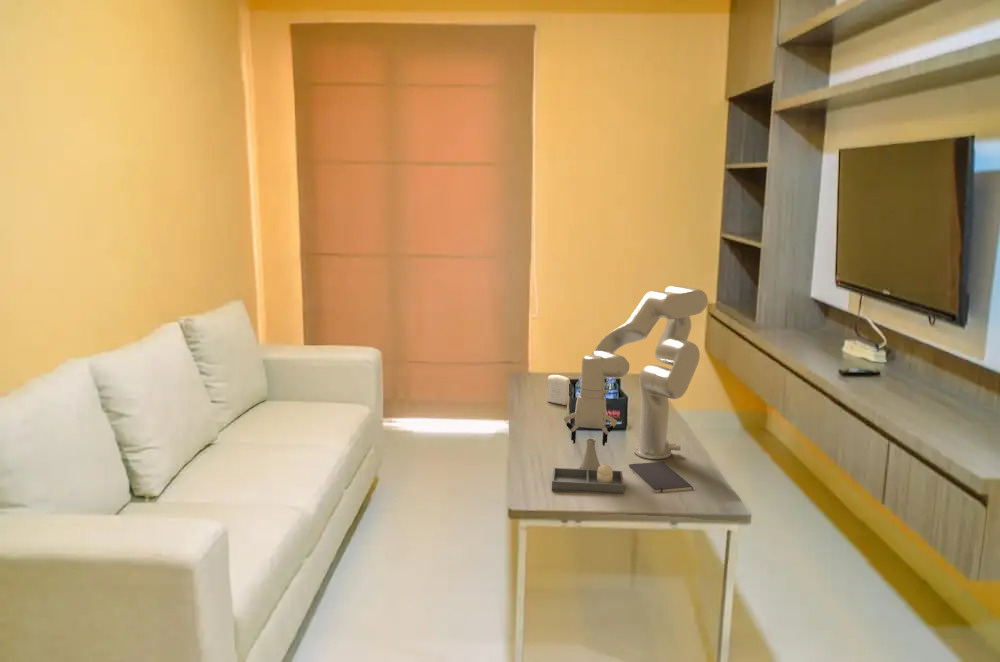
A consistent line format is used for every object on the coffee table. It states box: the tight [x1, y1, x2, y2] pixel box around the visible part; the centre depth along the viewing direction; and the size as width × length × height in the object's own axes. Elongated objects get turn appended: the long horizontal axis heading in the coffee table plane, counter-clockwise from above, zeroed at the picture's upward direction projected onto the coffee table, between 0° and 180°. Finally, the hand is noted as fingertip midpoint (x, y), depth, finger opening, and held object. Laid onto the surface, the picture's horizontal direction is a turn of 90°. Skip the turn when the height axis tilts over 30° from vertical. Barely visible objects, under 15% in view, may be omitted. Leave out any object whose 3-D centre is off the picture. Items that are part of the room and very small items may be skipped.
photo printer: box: [546, 374, 571, 406], centre depth 310 cm, size 10×4×12 cm, turn 57°
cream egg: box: [597, 463, 614, 484], centre depth 223 cm, size 5×5×6 cm
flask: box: [579, 437, 601, 470], centre depth 237 cm, size 7×7×10 cm
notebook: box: [628, 461, 694, 493], centre depth 230 cm, size 13×2×21 cm
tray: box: [551, 467, 625, 495], centre depth 224 cm, size 22×11×3 cm, turn 84°
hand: (588, 443), depth 236 cm, fingers open, 9 cm apart
